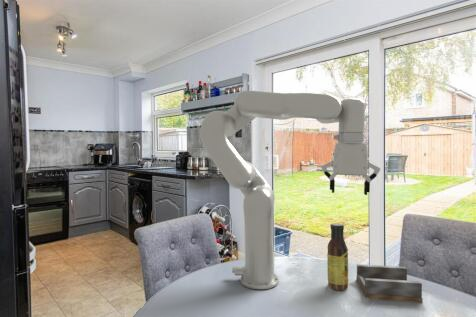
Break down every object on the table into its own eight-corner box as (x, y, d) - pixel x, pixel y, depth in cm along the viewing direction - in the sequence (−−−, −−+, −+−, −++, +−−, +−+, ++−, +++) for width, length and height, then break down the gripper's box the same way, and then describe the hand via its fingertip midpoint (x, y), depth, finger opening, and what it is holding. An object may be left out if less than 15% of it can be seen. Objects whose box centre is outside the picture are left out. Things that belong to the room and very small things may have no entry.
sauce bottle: (349, 292, 93) (349, 227, 93) (328, 290, 94) (328, 226, 94) (346, 283, 100) (346, 222, 99) (326, 281, 101) (326, 221, 101)
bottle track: (366, 298, 89) (366, 280, 89) (356, 279, 103) (356, 263, 103) (422, 302, 86) (422, 284, 86) (404, 282, 100) (404, 266, 100)
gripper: (321, 138, 95) (319, 193, 95) (382, 138, 89) (380, 197, 90) (323, 139, 102) (321, 190, 102) (379, 140, 97) (377, 194, 97)
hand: (349, 193), depth 96 cm, fingers open, 9 cm apart
